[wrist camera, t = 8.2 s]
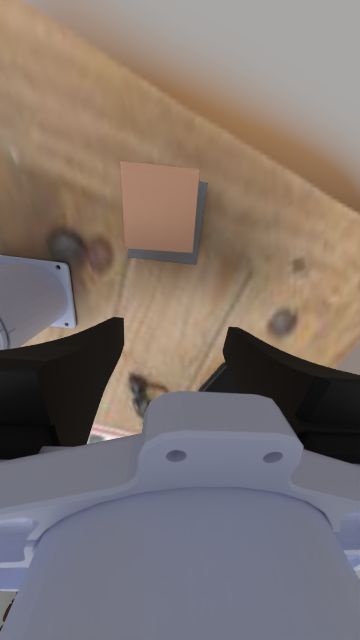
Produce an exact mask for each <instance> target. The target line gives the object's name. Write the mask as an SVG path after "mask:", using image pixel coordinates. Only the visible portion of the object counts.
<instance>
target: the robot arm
mask: <svg viewBox="0 0 360 640" xmlns="http://www.w3.org/2000/svg"><path fill="white" fill-rule="evenodd" d="M58 265H59V266H60V269H59V268H58V267H57V266H58ZM66 323H68V324H69V325H67V324H66ZM49 326H53V327H64V328H74V327H75V326H76V317H75V309H74V301H73V294H72V286H71V278H70V270H69V266H68V265H67V264H66V263H62V262H54V261H46V260H38V259H30V258H22V257H14V256H6V255H0V591H18V592H17V595H16V597H15V599H14V602H13V604H12V606H11V608H10V611H9V613H8V615H7V618H6V620H5V622H4V624H3V627H2V629H1V631H0V640H360V579H359V578H358V576H357V574H356V572H355V571H357V570H360V375H356V374H352V373H348V372H343V371H340V370H336V369H332V368H329V367H325V366H322V365H318V364H315V363H312V362H309V361H306V360H304V359H301V358H298V357H295V356H293V355H291V354H288V353H286V352H284V351H281V350H279V349H277V348H275V347H273V346H271V345H269V344H267V343H265V342H264V341H262V340H260V339H258V338H257V337H255V336H253V335H251V334H250V333H248V332H246V331H244V330H242V329H240V328H238V327H229V328H228V332H227V336H226V340H225V343H224V347H223V355H224V359H225V363H226V365H227V367H228V370H229V372H230V374H231V377H232V379H233V381H234V383H235V386H236V388H237V390H238V393H239V394H236V393H215V392H195V391H177V392H170V393H164V394H162V395H161V396H159V397H158V398H156V399H155V400H153V401H151V402H150V403H149V406H148V408H147V410H146V412H145V415H144V422H143V428H142V433H141V434H136V435H131V436H126V437H121V438H116V439H111V440H106V441H101V442H96V443H91V444H87V441H88V438H89V435H90V431H91V428H92V425H93V422H94V419H95V416H96V413H97V410H98V407H99V404H100V401H101V398H102V395H103V393H104V390H105V388H106V385H107V383H108V381H109V379H110V377H111V375H112V373H113V371H114V369H115V367H116V365H117V362H118V360H119V358H120V356H121V353H122V350H123V347H124V318H119V317H113V318H110V319H108V320H106V321H104V322H102V323H99V324H97V325H95V326H93V327H91V328H88V329H86V330H84V331H81V332H79V333H76V334H73V335H70V336H67V337H64V338H61V339H57V340H53V341H49V342H45V343H41V344H36V345H31V346H25V347H20V346H22V345H23V344H25V343H26V342H27V341H29V340H30V339H32V338H33V337H34V336H36V335H37V334H39V333H40V332H42V331H43V330H44V329H46V328H47V327H49Z"/></svg>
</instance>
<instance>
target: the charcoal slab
mask: <svg viewBox="0 0 360 640" xmlns="http://www.w3.org/2000/svg"><path fill="white" fill-rule="evenodd" d="M207 184H208V183H205V182H199V184H198V195H197V207H196V218H195V230H194V241H193V252H192V253H188V252H172V251H157V250H142V249H128V258H138V259H147V260H156V261H166V262H175V263H184V264H194V265H196V263H197V256H198V248H199V241H200V234H201V227H202V220H203V213H204V206H205V198H206V191H207Z"/></svg>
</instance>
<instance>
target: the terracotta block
mask: <svg viewBox="0 0 360 640" xmlns="http://www.w3.org/2000/svg"><path fill="white" fill-rule="evenodd" d="M199 172H200V169H194V168H184V167H174V166H164V165H154V164H143V163H133V162H123V161H120V173H121V189H122V205H123V221H124V237H125V248H126V249H142V250H157V251H172V252H188V253H192V252H193V241H194V230H195V218H196V207H197V195H198V184H199Z"/></svg>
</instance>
